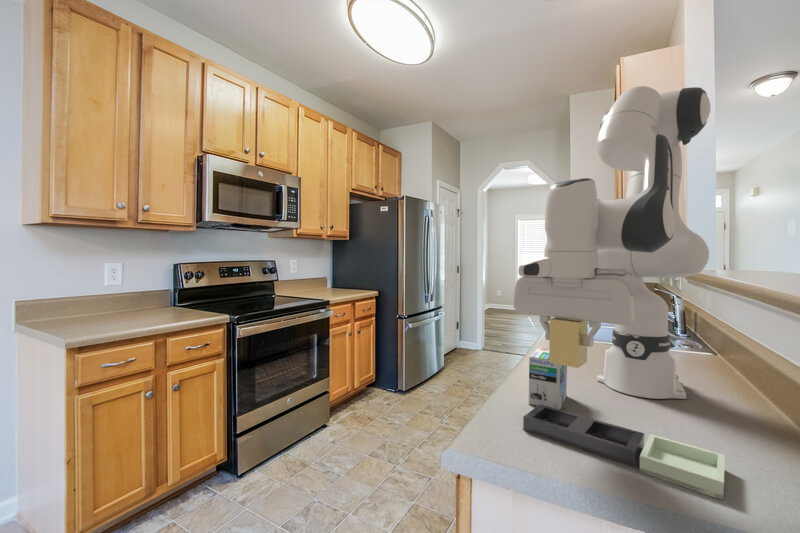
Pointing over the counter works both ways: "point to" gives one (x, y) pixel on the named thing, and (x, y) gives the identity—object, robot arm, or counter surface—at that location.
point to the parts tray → (684, 465)
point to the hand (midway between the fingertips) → (568, 342)
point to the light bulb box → (546, 380)
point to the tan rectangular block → (567, 342)
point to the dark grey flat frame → (586, 434)
